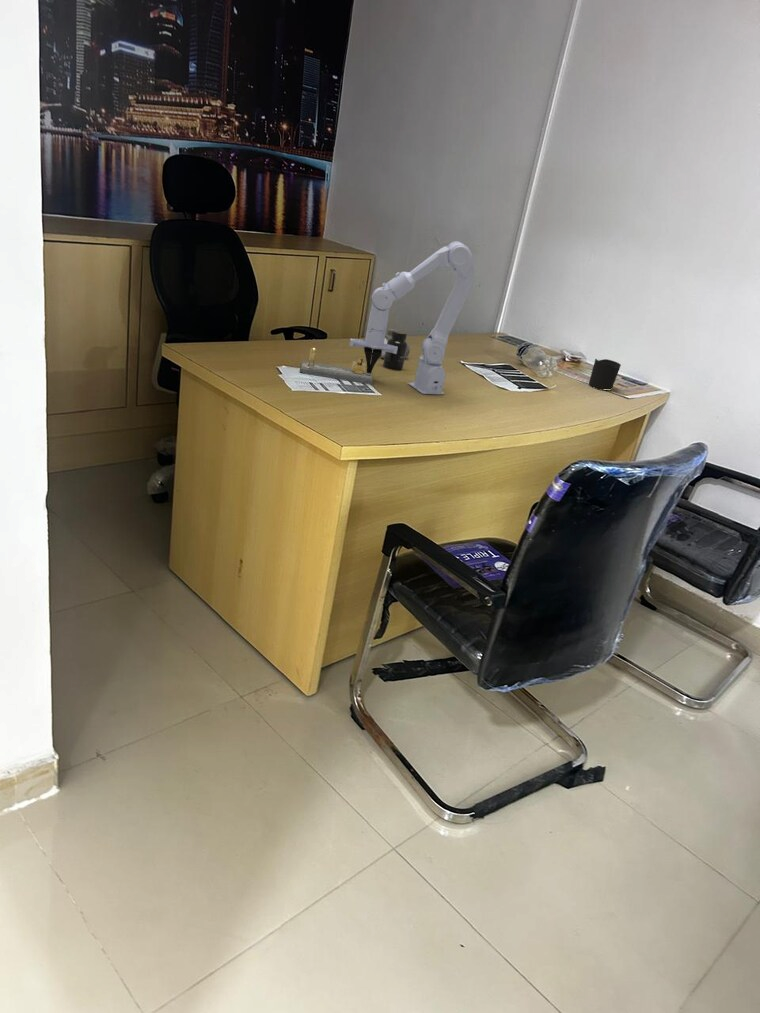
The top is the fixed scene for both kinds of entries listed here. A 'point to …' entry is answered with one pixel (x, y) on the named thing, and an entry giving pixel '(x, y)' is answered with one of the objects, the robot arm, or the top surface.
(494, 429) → the top surface
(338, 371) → the bolt plate
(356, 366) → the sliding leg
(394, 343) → the supplement bottle
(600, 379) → the pen holder
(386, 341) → the pipe fitting
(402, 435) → the top surface
